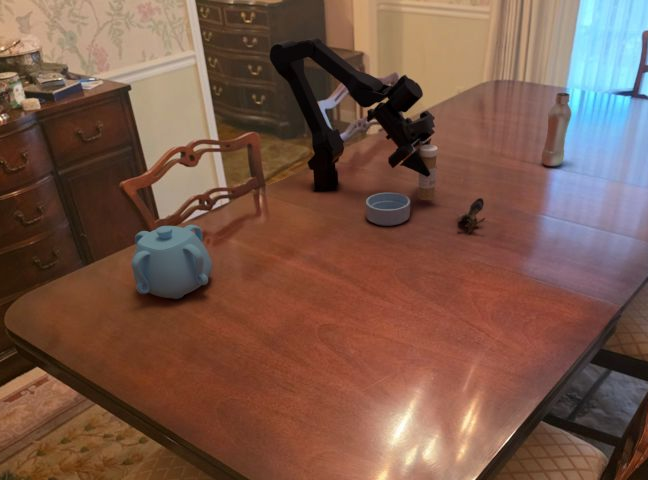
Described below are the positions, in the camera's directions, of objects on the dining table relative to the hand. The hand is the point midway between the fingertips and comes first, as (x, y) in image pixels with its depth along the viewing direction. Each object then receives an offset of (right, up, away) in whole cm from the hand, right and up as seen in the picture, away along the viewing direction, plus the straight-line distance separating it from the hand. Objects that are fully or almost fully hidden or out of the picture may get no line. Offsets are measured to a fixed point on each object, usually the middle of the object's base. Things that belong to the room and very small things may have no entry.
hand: (432, 172), depth 160 cm
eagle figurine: (+9, -15, -6) cm, 19 cm away
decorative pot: (-59, -32, -24) cm, 72 cm away
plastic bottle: (+39, +10, +25) cm, 48 cm away
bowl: (-11, -12, 0) cm, 16 cm away
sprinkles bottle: (-1, -5, +5) cm, 7 cm away
